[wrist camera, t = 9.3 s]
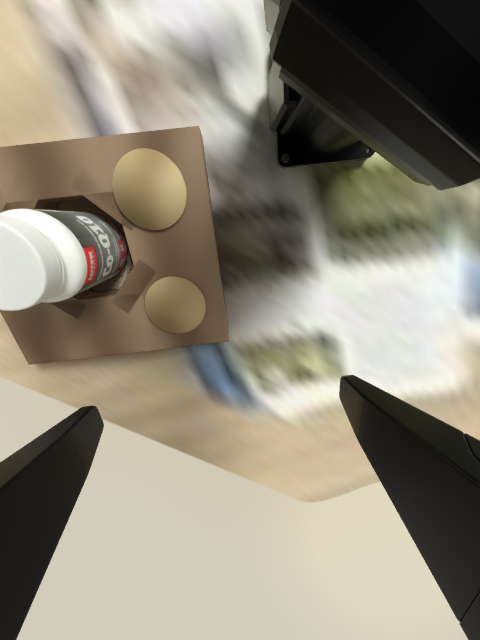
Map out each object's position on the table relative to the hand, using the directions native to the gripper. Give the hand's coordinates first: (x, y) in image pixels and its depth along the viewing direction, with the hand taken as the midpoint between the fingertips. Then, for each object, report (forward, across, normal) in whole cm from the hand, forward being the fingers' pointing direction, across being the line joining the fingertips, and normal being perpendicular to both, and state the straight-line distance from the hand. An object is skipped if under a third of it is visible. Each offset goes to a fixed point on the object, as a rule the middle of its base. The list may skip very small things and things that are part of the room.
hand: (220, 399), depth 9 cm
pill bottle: (+12, +9, -5) cm, 16 cm away
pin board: (+12, +8, -4) cm, 15 cm away
